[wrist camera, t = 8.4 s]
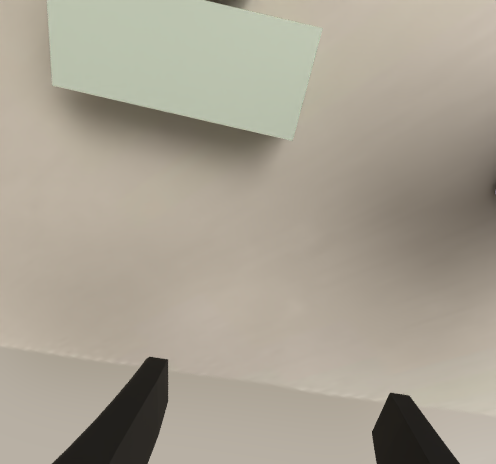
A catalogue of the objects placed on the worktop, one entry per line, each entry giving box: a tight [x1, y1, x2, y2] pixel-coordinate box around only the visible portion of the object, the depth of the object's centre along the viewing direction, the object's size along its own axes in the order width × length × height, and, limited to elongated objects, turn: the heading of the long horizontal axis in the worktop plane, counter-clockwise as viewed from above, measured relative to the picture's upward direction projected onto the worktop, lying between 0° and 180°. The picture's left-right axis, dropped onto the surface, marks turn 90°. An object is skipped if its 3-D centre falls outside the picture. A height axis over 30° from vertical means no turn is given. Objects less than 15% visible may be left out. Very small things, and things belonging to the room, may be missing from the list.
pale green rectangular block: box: [47, 0, 323, 141], centre depth 14 cm, size 10×4×4 cm, turn 78°
